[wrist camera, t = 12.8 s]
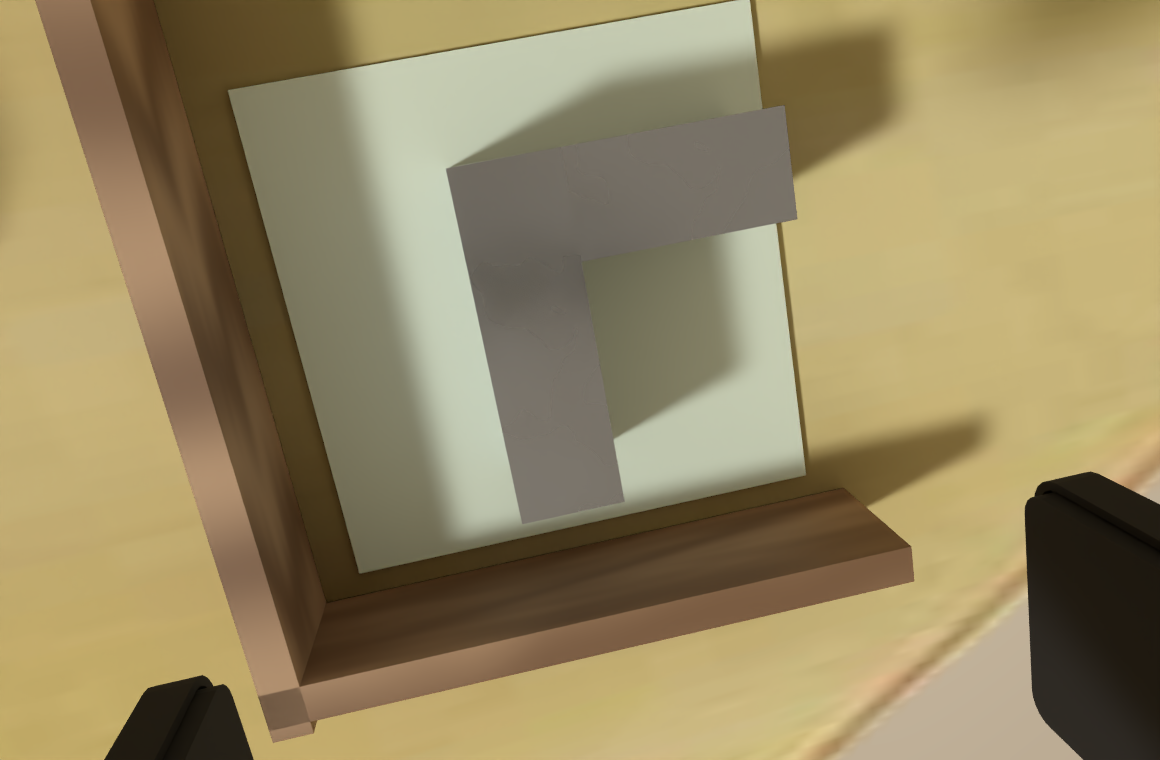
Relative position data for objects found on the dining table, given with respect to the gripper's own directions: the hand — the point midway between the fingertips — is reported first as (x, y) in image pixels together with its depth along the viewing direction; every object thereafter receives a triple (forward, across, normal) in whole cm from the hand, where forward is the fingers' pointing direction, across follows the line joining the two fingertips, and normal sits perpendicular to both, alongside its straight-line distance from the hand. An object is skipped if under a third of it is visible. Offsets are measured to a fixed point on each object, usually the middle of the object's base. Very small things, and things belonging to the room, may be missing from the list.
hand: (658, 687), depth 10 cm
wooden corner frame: (+20, 0, -2) cm, 20 cm away
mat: (+20, -1, -1) cm, 20 cm away
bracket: (+19, -3, -1) cm, 20 cm away
